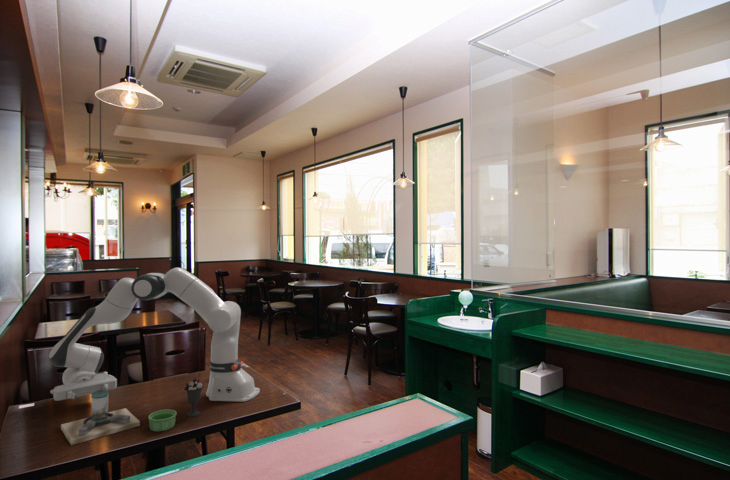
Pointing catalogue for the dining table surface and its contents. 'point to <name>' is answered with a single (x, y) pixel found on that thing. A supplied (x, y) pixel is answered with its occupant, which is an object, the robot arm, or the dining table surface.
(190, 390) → the sundae
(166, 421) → the ramekin
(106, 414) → the teal-capped glass jar
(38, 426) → the dining table surface
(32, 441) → the dining table surface
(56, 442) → the dining table surface
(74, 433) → the board
